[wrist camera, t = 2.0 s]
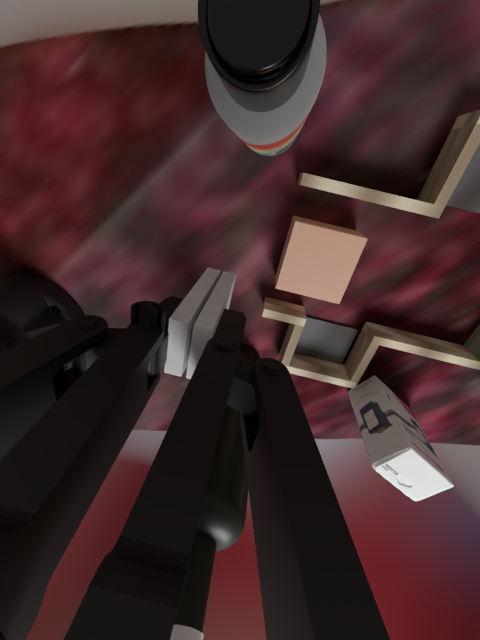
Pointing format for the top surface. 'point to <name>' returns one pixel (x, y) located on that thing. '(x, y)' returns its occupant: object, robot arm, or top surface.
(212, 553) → the wine bottle
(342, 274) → the block
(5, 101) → the top surface
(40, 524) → the robot arm
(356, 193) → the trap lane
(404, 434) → the ink box
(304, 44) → the lotion bottle
